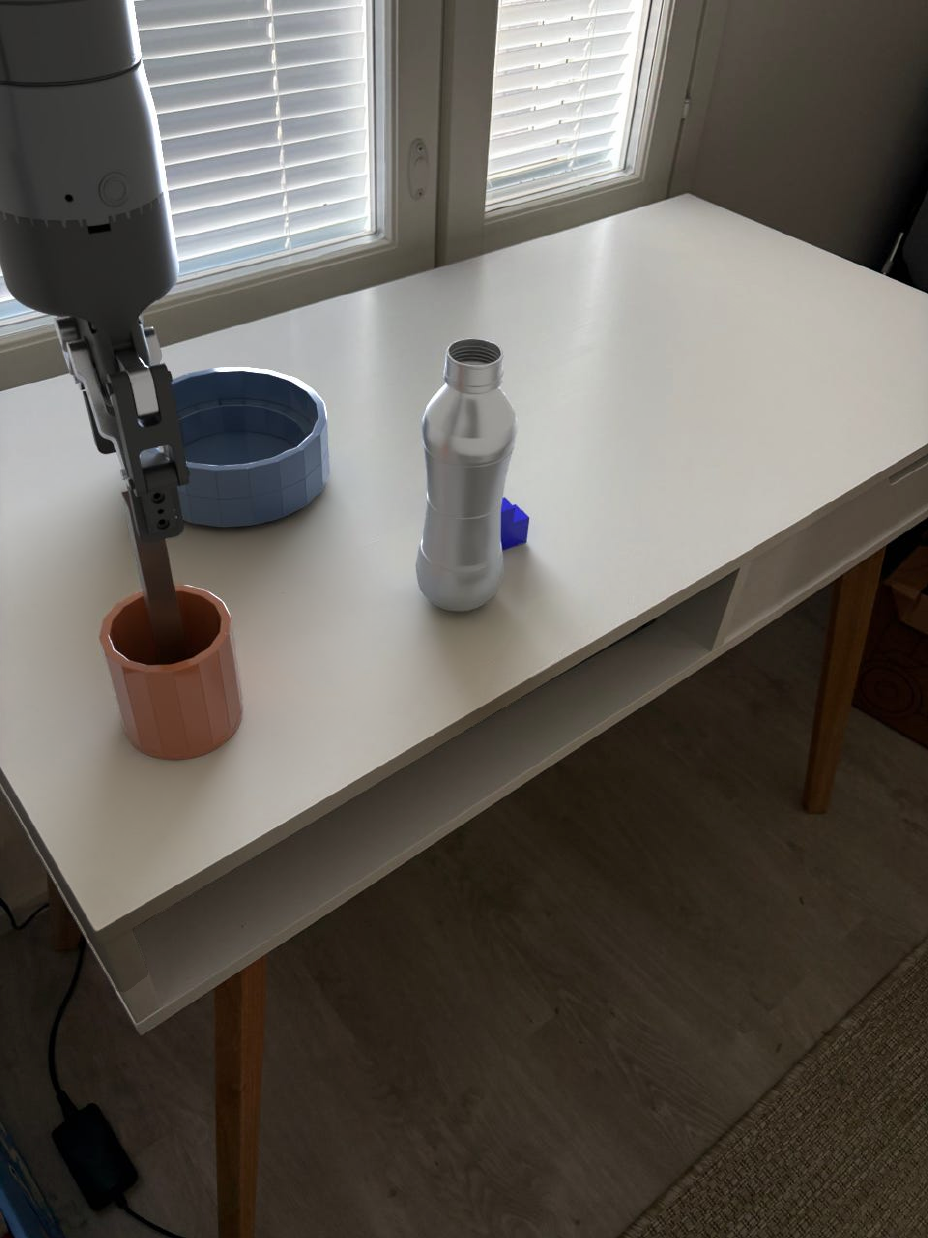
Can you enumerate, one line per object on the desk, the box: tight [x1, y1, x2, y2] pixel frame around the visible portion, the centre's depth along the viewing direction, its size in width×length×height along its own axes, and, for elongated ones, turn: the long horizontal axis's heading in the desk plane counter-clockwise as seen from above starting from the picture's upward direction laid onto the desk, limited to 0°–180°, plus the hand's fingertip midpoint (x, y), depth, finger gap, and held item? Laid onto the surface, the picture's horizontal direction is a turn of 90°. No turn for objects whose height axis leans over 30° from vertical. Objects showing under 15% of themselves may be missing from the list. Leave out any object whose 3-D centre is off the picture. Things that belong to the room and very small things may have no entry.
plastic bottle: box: [415, 337, 519, 612], centre depth 69 cm, size 6×7×20 cm
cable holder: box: [501, 496, 530, 552], centre depth 82 cm, size 8×4×4 cm, turn 31°
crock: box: [98, 584, 244, 761], centre depth 63 cm, size 8×8×8 cm
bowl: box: [140, 366, 330, 528], centre depth 84 cm, size 15×15×6 cm
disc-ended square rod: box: [120, 490, 188, 665], centre depth 60 cm, size 4×4×17 cm
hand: (138, 490), depth 54 cm, fingers open, 8 cm apart
